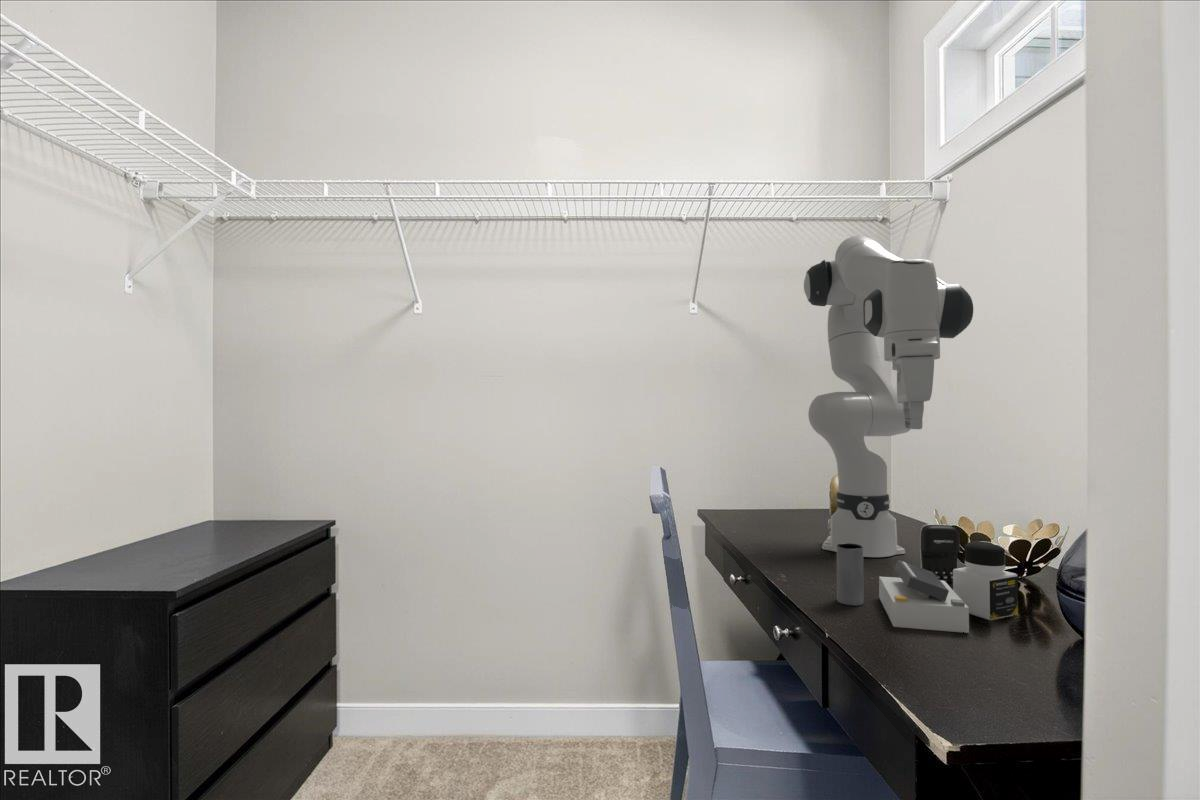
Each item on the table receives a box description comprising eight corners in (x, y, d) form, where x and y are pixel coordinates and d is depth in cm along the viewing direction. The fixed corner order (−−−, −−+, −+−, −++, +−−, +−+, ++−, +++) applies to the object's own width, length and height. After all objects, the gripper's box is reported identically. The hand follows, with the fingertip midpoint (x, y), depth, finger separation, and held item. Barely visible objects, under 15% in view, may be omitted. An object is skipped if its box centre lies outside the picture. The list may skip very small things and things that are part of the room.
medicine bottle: (990, 621, 108) (990, 549, 108) (952, 608, 114) (951, 541, 114) (1018, 615, 111) (1018, 545, 111) (979, 603, 117) (979, 537, 117)
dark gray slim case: (894, 568, 118) (898, 558, 118) (929, 581, 117) (932, 571, 117) (906, 587, 107) (910, 576, 107) (945, 601, 105) (949, 589, 105)
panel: (879, 597, 121) (879, 572, 121) (944, 602, 118) (944, 576, 118) (893, 626, 105) (893, 597, 105) (968, 632, 102) (968, 602, 102)
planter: (865, 606, 116) (865, 549, 116) (839, 605, 117) (838, 548, 117) (860, 599, 120) (860, 543, 120) (835, 597, 121) (834, 542, 121)
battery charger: (925, 583, 130) (924, 526, 130) (918, 578, 134) (918, 523, 134) (962, 584, 129) (962, 527, 129) (955, 579, 133) (954, 524, 133)
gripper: (888, 356, 124) (889, 428, 124) (896, 344, 105) (898, 429, 105) (924, 354, 122) (926, 428, 122) (939, 342, 103) (941, 429, 103)
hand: (913, 428), depth 113 cm, fingers open, 8 cm apart
